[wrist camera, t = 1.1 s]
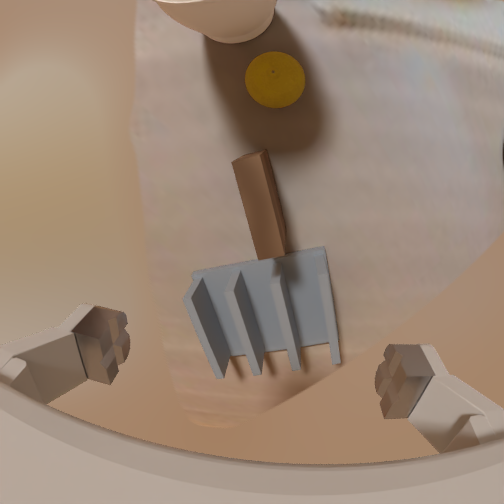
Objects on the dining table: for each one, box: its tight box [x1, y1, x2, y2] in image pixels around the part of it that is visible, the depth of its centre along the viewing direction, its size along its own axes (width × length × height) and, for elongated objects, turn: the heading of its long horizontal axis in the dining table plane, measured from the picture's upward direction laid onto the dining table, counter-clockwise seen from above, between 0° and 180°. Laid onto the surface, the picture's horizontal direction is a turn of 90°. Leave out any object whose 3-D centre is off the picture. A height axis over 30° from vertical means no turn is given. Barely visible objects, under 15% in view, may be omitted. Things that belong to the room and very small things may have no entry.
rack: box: [183, 246, 341, 379], centre depth 36 cm, size 16×13×6 cm
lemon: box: [245, 51, 305, 108], centre depth 25 cm, size 6×6×8 cm
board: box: [232, 150, 286, 261], centre depth 30 cm, size 2×9×8 cm, turn 15°
